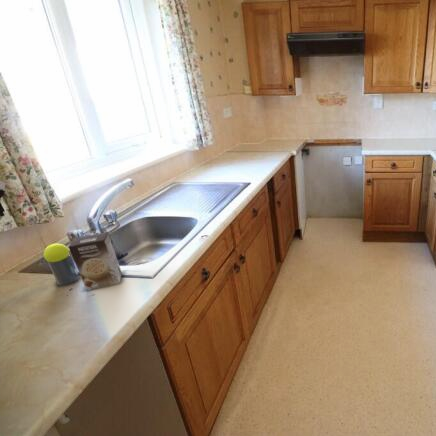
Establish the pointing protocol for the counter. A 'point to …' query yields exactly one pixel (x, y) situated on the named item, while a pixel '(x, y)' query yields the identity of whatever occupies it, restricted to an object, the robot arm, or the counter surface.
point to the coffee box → (96, 260)
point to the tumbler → (64, 271)
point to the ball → (56, 252)
